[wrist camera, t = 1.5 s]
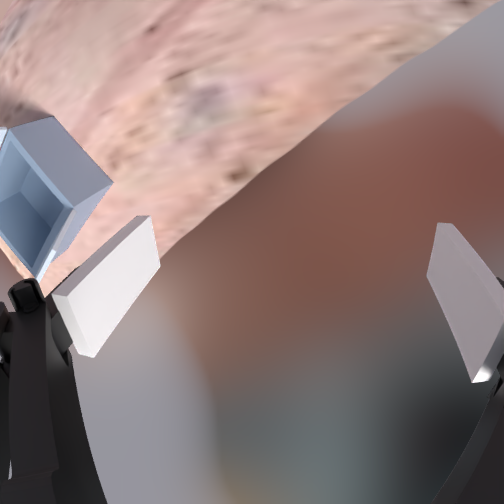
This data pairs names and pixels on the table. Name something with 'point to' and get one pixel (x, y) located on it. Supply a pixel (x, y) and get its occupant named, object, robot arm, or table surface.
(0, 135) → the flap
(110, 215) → the table surface
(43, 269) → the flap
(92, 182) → the box
